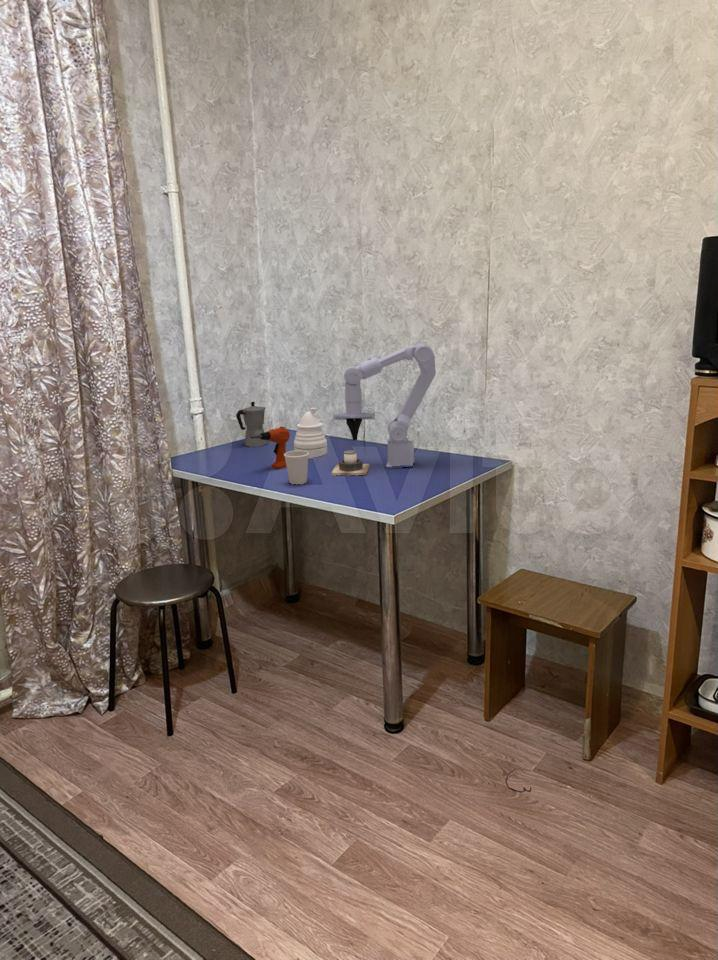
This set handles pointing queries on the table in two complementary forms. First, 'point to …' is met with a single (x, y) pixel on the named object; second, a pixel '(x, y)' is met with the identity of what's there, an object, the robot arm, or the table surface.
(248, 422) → the coffeepot
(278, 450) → the toy drill
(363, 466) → the square plate with ring
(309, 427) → the honey pot
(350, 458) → the grey cylinder
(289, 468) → the dixie cup
